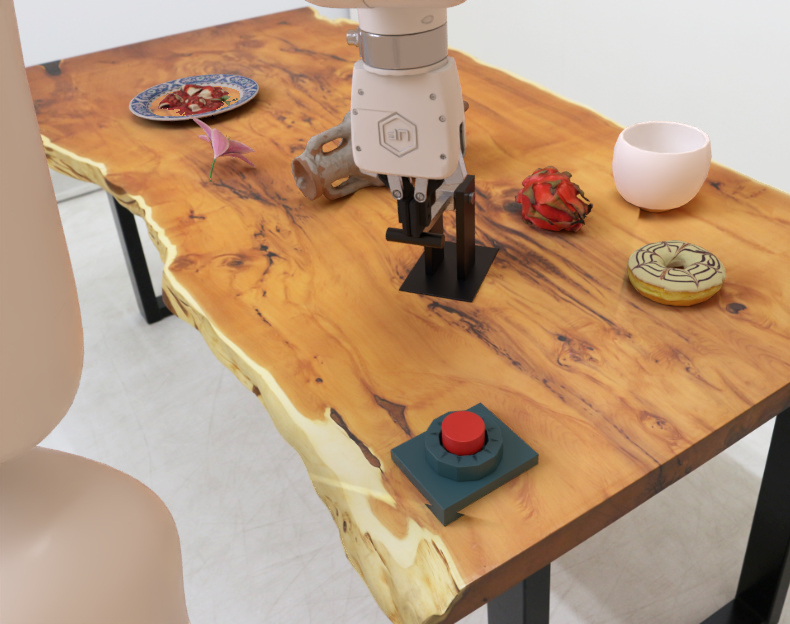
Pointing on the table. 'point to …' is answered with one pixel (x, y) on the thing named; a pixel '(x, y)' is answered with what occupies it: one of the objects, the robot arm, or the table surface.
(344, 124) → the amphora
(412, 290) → the black lever stand
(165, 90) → the ceramic plate
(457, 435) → the button
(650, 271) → the decorated donut
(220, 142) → the lily
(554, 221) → the dragon fruit
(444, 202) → the lever
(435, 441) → the button box
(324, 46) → the table surface
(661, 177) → the cup
